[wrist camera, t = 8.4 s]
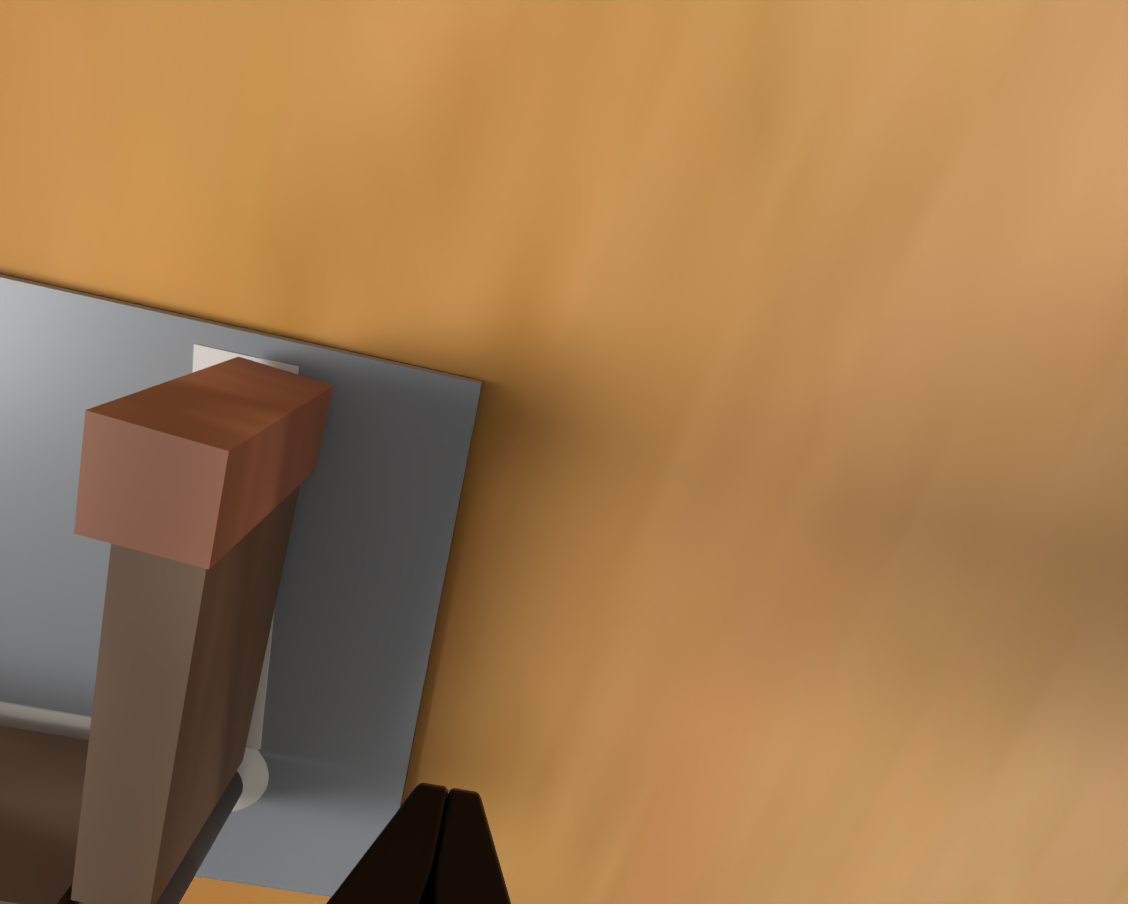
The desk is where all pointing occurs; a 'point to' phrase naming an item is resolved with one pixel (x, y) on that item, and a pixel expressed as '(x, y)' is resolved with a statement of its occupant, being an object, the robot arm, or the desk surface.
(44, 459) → the card
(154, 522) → the fence gate
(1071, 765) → the desk surface
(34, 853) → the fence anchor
